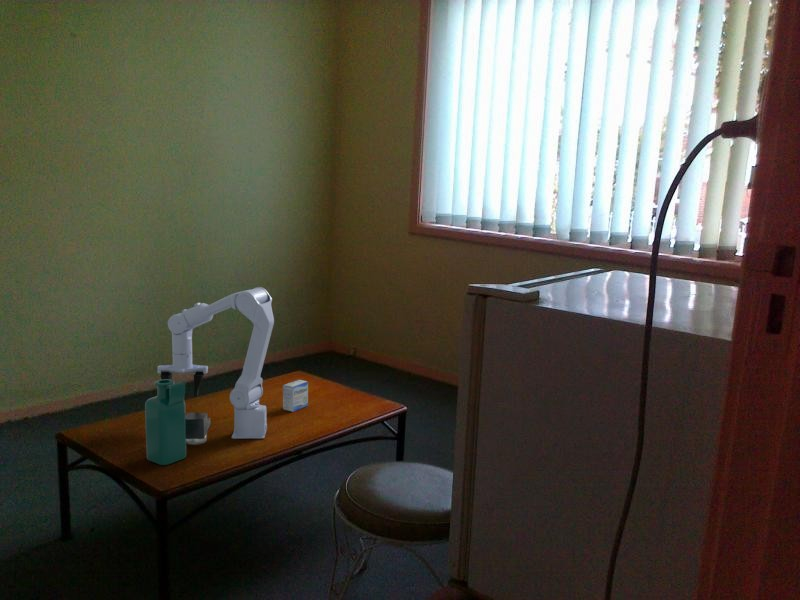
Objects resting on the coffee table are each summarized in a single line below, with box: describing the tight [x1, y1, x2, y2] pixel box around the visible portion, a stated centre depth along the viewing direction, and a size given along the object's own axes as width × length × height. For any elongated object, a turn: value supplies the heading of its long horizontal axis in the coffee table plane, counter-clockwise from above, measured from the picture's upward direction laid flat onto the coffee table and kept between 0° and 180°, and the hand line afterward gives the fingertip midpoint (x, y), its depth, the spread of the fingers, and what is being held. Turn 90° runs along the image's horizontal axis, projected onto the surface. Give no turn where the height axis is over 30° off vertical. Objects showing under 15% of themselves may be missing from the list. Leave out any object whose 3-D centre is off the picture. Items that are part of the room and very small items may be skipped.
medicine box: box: [282, 379, 309, 413], centre depth 236 cm, size 8×4×9 cm, turn 148°
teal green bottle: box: [144, 379, 187, 466], centre depth 191 cm, size 10×8×22 cm
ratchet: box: [186, 417, 212, 446], centre depth 211 cm, size 17×6×5 cm, turn 5°
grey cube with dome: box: [185, 412, 209, 439], centre depth 205 cm, size 6×6×6 cm
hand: (183, 395), depth 216 cm, fingers open, 7 cm apart
